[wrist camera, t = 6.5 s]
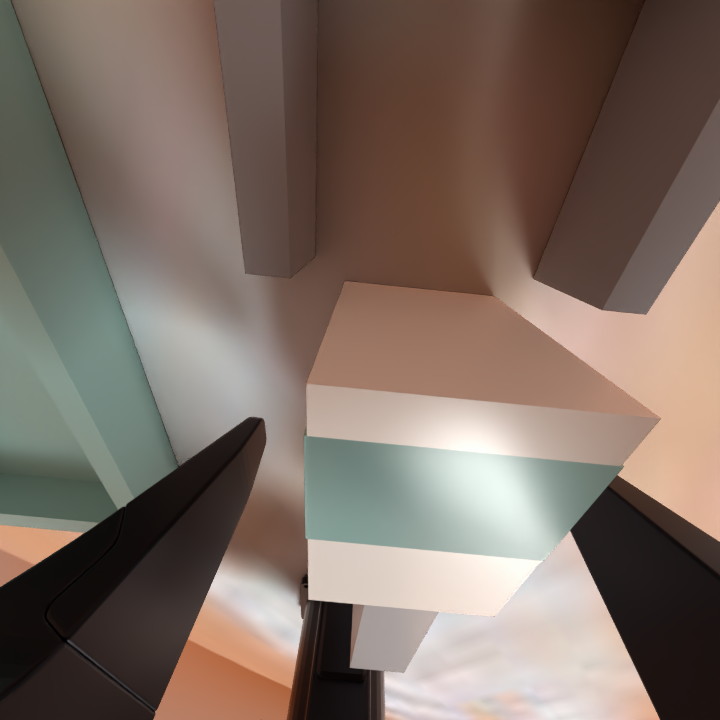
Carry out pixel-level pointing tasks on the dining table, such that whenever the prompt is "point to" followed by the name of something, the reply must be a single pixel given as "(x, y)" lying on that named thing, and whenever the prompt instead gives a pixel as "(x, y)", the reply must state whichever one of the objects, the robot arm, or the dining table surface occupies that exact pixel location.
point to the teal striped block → (446, 458)
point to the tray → (61, 333)
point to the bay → (588, 189)
